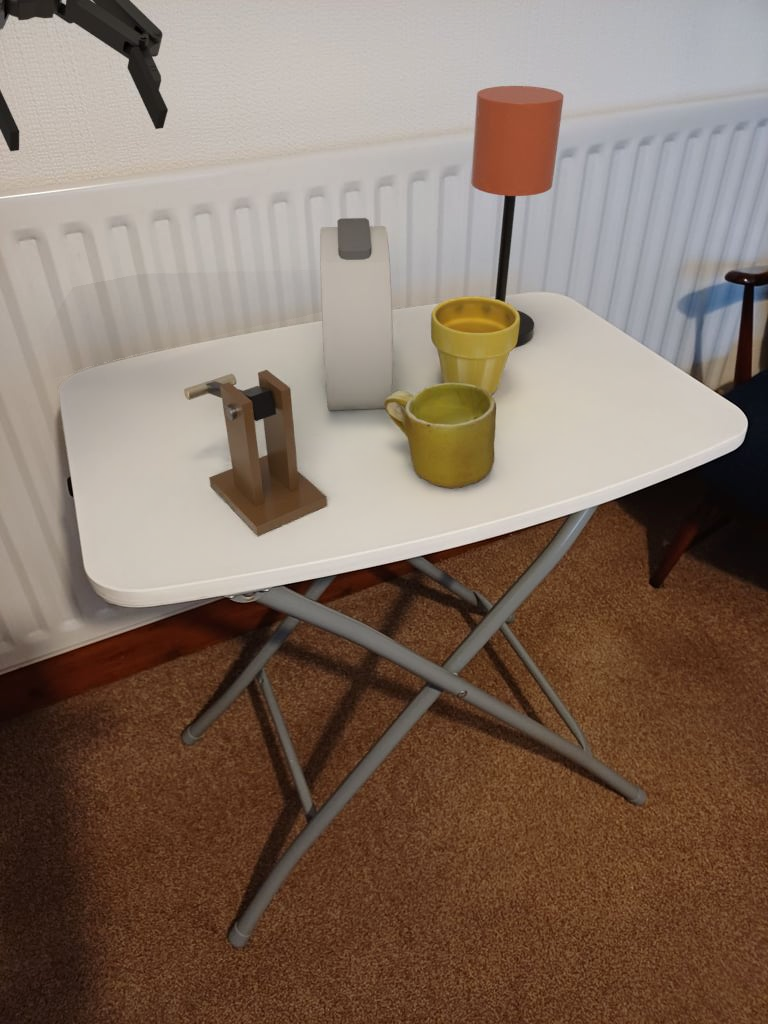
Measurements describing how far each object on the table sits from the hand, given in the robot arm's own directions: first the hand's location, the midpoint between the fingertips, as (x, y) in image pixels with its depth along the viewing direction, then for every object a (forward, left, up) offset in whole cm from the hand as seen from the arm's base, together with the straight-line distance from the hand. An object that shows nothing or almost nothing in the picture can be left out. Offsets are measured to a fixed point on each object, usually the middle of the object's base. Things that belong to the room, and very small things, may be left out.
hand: (91, 130), depth 71 cm
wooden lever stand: (+14, -14, -32) cm, 37 cm away
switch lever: (+11, -10, -23) cm, 28 cm away
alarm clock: (+24, +9, -32) cm, 41 cm away
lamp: (+44, +22, -32) cm, 58 cm away
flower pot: (+38, +7, -32) cm, 50 cm away
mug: (+32, -9, -32) cm, 46 cm away
